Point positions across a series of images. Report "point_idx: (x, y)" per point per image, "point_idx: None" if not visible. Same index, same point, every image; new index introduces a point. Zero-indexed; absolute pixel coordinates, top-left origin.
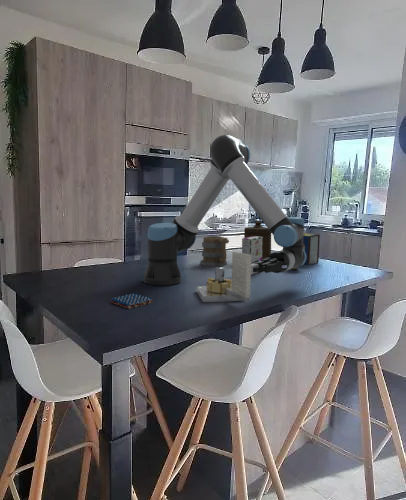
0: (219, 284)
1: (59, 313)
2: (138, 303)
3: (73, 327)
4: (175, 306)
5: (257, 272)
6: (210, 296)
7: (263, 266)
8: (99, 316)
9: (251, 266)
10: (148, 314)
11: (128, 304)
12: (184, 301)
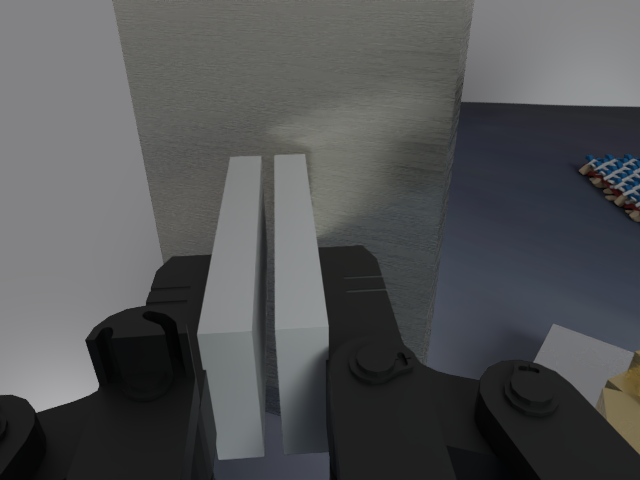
0: (612, 378)
1: (605, 109)
2: (604, 179)
3: (475, 103)
4: (534, 249)
5: (220, 445)
6: (538, 356)
7: (79, 428)
8: (533, 130)
9: (223, 208)
10: (480, 177)
11: (588, 157)
12: (613, 307)
